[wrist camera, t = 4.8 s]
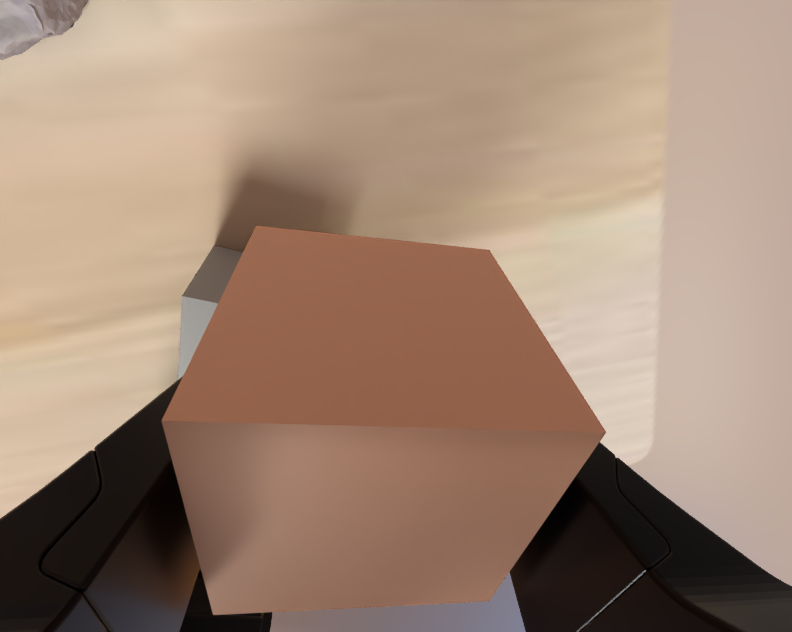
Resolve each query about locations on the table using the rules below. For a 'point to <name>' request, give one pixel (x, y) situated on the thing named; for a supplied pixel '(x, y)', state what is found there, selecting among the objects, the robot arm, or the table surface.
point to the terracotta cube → (369, 427)
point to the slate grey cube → (203, 300)
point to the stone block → (34, 22)
